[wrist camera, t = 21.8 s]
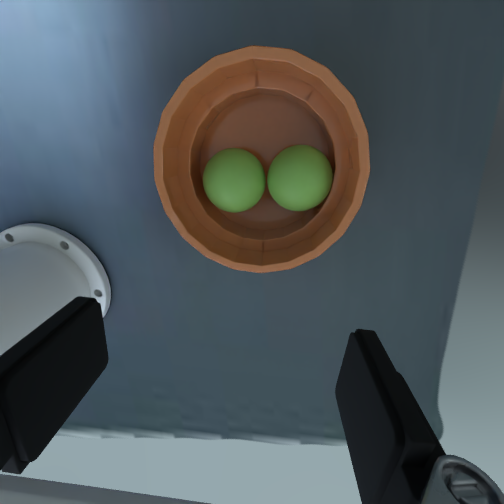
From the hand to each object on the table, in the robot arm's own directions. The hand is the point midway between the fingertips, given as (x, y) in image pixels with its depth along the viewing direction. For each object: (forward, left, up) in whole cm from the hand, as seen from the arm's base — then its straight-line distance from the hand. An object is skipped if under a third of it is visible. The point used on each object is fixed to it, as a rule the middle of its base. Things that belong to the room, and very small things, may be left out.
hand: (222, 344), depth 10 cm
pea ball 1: (-2, +4, -12) cm, 13 cm away
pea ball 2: (+3, +5, -12) cm, 14 cm away
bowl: (0, +5, -15) cm, 16 cm away
